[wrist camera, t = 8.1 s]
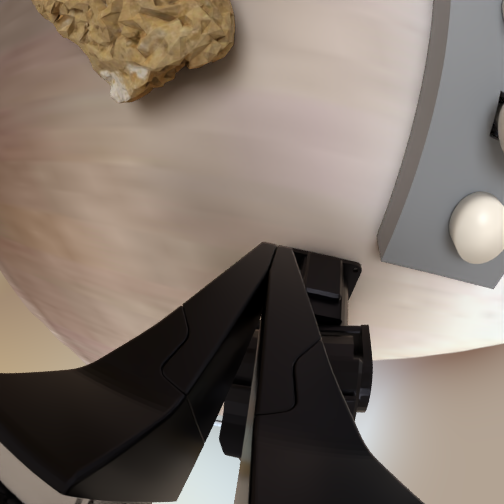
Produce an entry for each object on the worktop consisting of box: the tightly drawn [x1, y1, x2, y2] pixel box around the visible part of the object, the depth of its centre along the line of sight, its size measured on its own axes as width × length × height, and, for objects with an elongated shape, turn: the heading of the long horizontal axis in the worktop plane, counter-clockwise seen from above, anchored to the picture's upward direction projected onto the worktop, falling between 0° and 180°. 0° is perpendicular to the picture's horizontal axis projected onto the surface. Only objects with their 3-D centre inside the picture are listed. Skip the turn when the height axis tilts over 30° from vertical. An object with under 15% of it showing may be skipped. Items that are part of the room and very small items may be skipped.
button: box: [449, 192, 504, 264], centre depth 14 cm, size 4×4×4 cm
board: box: [377, 0, 504, 289], centre depth 11 cm, size 24×11×3 cm, turn 176°
